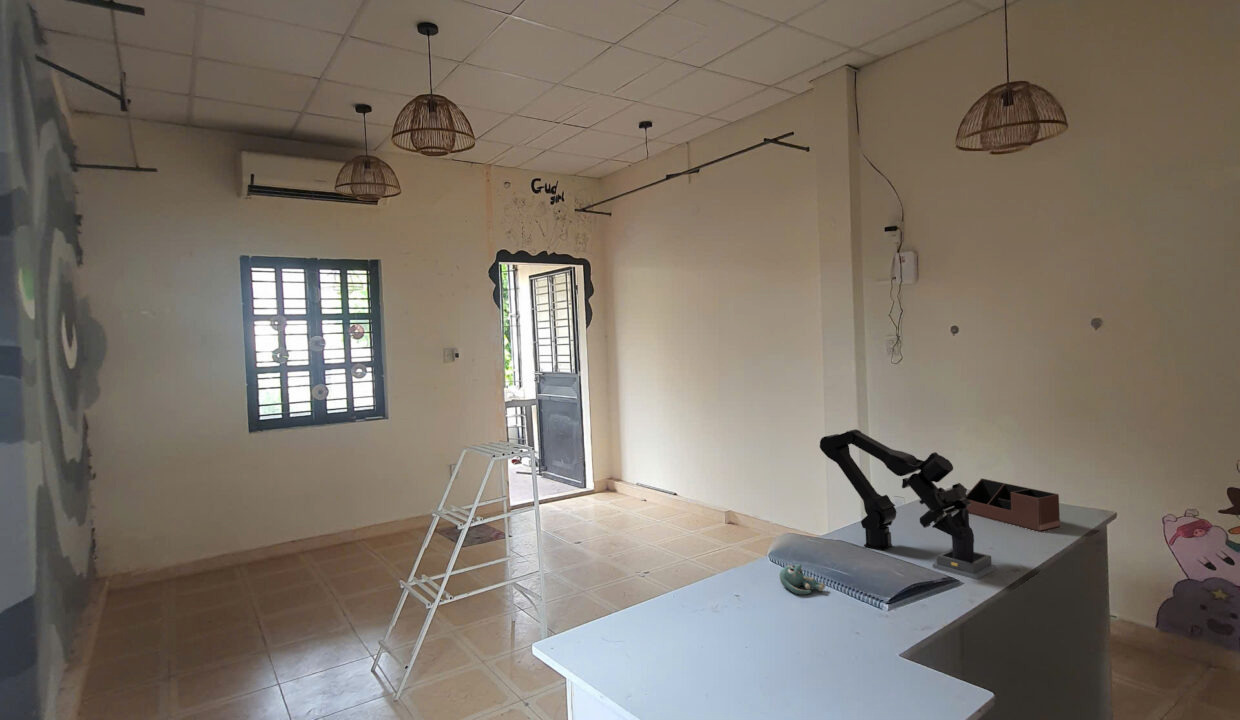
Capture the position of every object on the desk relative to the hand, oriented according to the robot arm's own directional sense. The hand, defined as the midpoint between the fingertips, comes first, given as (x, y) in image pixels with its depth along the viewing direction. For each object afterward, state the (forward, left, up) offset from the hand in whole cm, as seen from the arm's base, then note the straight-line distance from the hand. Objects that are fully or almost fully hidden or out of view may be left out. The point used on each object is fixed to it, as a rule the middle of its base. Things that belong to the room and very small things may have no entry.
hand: (967, 538), depth 176 cm
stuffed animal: (-29, -39, -9) cm, 50 cm away
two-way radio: (-1, 0, -7) cm, 8 cm away
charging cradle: (-1, 0, -9) cm, 9 cm away
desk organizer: (-3, +57, -9) cm, 57 cm away
